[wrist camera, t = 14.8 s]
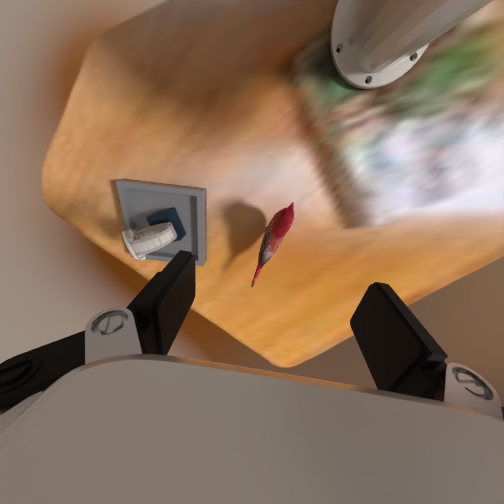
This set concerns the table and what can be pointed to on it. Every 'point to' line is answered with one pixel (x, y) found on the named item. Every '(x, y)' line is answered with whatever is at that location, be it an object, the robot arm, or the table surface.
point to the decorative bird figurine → (274, 236)
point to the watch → (155, 233)
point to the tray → (161, 198)
